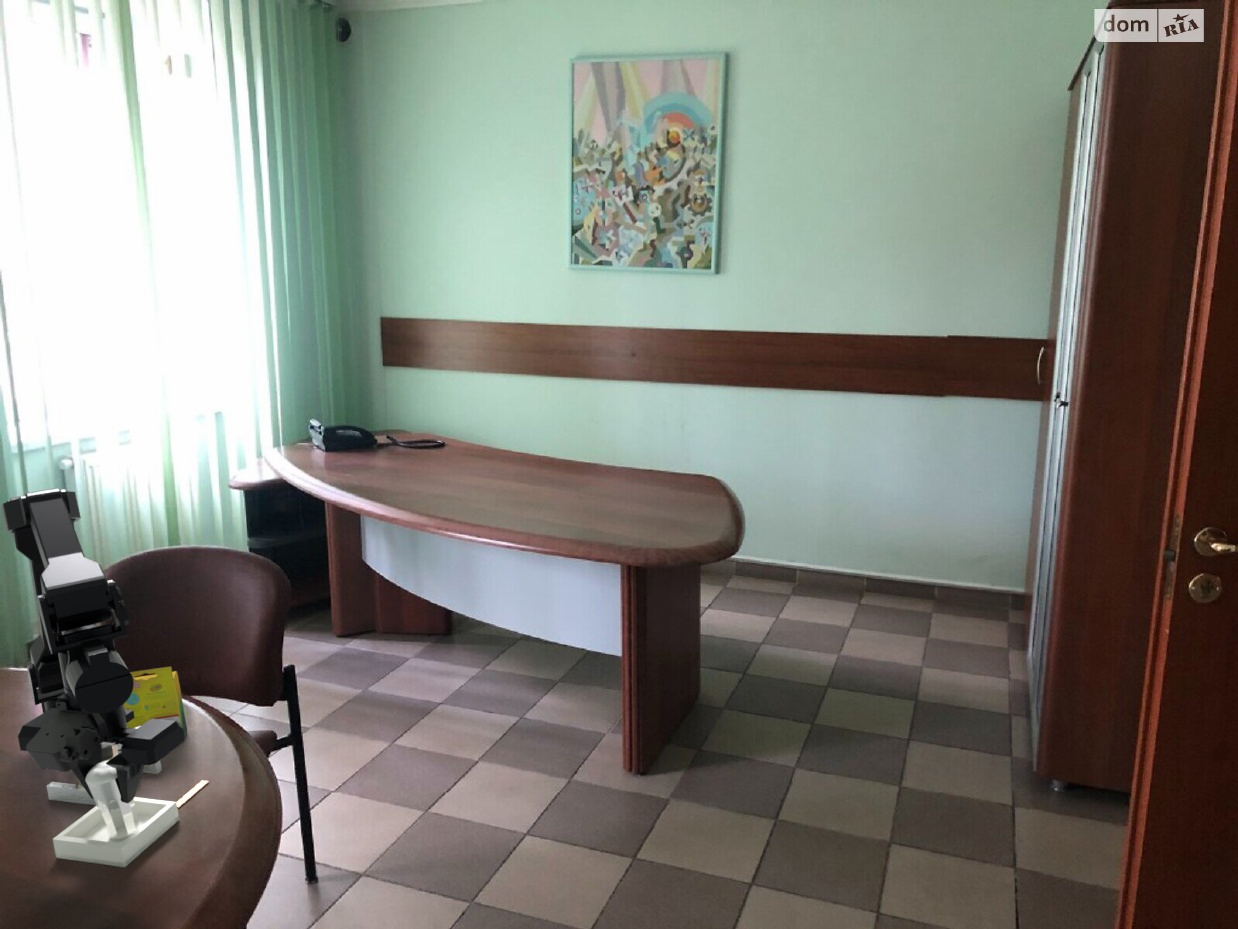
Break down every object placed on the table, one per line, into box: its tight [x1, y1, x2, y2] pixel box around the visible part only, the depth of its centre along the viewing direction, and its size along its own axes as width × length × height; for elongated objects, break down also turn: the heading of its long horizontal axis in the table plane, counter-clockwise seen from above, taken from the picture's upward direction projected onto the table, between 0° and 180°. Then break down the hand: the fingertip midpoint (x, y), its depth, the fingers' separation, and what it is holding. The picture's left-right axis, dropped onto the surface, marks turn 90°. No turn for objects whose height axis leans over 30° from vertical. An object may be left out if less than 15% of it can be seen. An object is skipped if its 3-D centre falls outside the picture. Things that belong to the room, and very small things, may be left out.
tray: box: [52, 796, 180, 868], centre depth 117 cm, size 10×10×2 cm
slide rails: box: [46, 760, 210, 809], centre depth 128 cm, size 18×9×2 cm, turn 76°
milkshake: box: [85, 760, 139, 839], centre depth 116 cm, size 4×5×10 cm
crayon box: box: [124, 666, 188, 737], centre depth 139 cm, size 7×3×12 cm, turn 105°
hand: (112, 799), depth 117 cm, fingers closed on milkshake, 4 cm apart
